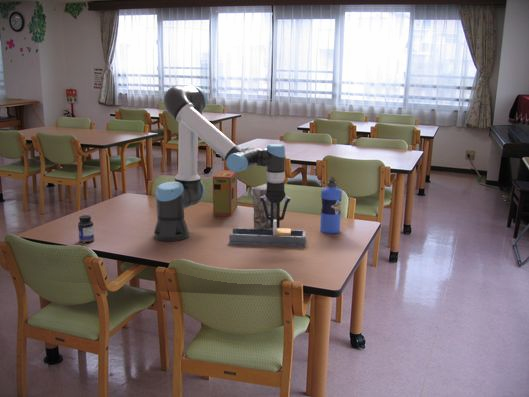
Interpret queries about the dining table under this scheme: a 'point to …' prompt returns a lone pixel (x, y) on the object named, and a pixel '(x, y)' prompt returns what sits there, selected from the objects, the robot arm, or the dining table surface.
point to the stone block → (262, 208)
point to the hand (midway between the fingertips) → (274, 235)
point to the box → (224, 193)
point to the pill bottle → (85, 229)
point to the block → (283, 232)
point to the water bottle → (330, 208)
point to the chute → (266, 237)
